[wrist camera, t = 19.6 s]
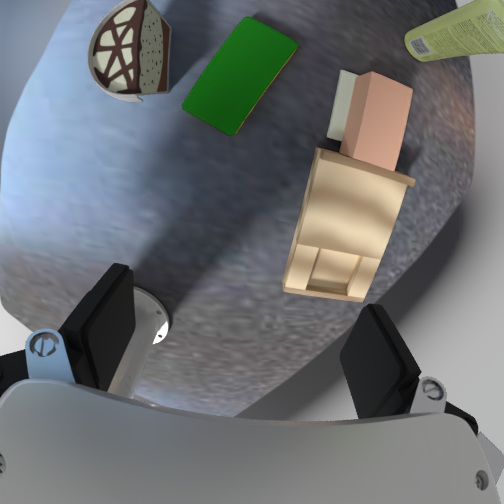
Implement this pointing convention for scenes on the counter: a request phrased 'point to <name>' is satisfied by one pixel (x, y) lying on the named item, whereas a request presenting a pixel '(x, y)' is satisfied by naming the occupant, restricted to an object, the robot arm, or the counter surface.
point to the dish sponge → (239, 75)
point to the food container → (131, 51)
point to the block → (376, 120)
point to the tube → (460, 32)
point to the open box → (343, 226)
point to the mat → (341, 105)
